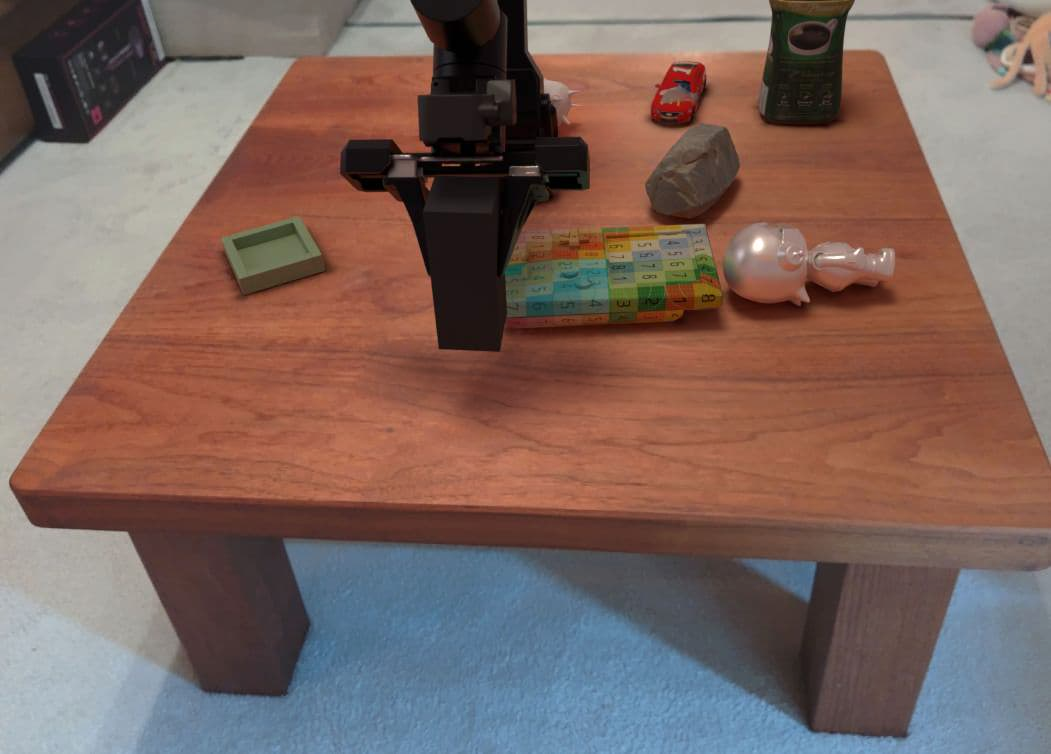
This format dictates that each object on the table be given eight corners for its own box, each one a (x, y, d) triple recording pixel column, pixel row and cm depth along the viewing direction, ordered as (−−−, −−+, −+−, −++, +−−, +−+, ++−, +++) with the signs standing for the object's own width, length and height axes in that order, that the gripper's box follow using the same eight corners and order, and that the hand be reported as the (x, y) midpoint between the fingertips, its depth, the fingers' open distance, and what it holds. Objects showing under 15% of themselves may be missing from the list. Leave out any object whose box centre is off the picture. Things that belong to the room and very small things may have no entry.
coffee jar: (835, 98, 124) (859, -58, 112) (841, 128, 118) (867, -33, 106) (755, 97, 126) (770, -57, 114) (757, 126, 120) (773, -32, 108)
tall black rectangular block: (448, 311, 85) (434, 175, 76) (507, 313, 84) (500, 177, 75) (438, 349, 81) (422, 211, 72) (500, 352, 80) (491, 213, 72)
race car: (689, 131, 120) (691, 100, 118) (645, 126, 122) (645, 95, 119) (711, 83, 129) (713, 53, 127) (670, 79, 131) (671, 49, 128)
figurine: (911, 223, 88) (746, 204, 87) (906, 306, 88) (740, 289, 86) (859, 246, 99) (711, 230, 97) (855, 321, 98) (705, 306, 97)
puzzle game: (499, 226, 98) (705, 215, 97) (503, 265, 101) (703, 256, 100) (497, 297, 89) (723, 287, 88) (500, 339, 92) (720, 329, 91)
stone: (678, 165, 114) (681, 101, 109) (746, 178, 111) (753, 113, 106) (634, 219, 106) (635, 152, 101) (707, 235, 103) (711, 167, 98)
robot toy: (434, 111, 119) (542, 137, 113) (449, 35, 116) (559, 57, 111) (494, 123, 132) (593, 147, 126) (509, 55, 130) (610, 76, 124)
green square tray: (303, 231, 108) (299, 215, 107) (325, 270, 102) (322, 254, 101) (225, 253, 106) (220, 237, 104) (243, 295, 100) (238, 279, 98)
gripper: (321, 38, 71) (314, 257, 70) (585, 31, 69) (582, 256, 68) (362, 92, 82) (357, 282, 81) (591, 88, 80) (588, 282, 79)
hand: (465, 276), depth 77 cm, fingers closed on tall black rectangular block, 5 cm apart
